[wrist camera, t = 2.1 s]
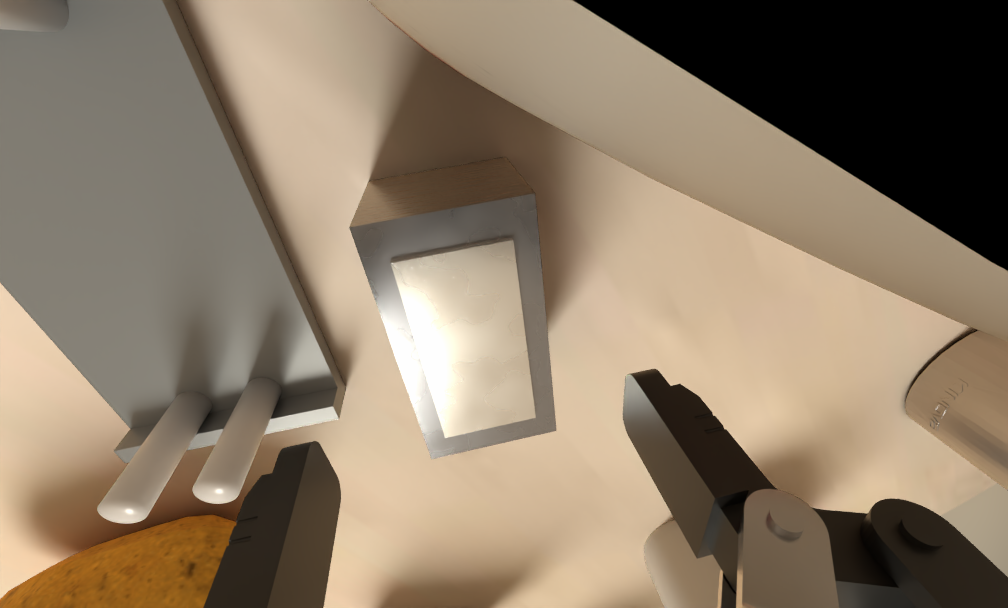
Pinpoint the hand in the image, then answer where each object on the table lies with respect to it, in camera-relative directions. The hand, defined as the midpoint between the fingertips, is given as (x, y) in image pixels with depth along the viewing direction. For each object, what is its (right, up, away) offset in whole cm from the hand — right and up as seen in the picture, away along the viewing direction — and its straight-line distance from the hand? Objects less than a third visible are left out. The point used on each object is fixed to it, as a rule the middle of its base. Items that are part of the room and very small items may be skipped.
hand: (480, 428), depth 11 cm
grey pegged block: (-12, +5, +4) cm, 14 cm away
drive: (-1, +4, +8) cm, 9 cm away
